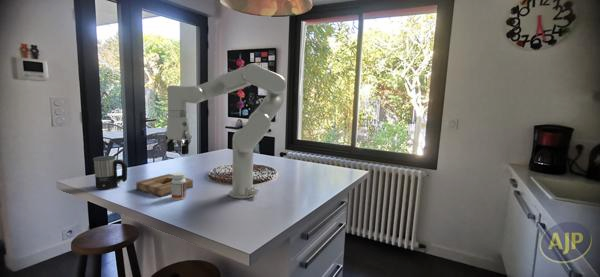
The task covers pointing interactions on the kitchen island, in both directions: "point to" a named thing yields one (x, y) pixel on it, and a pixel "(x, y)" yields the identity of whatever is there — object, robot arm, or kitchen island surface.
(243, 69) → the robot arm
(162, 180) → the socket block
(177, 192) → the pill bottle
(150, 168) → the kitchen island surface
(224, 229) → the kitchen island surface
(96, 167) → the milk frother
